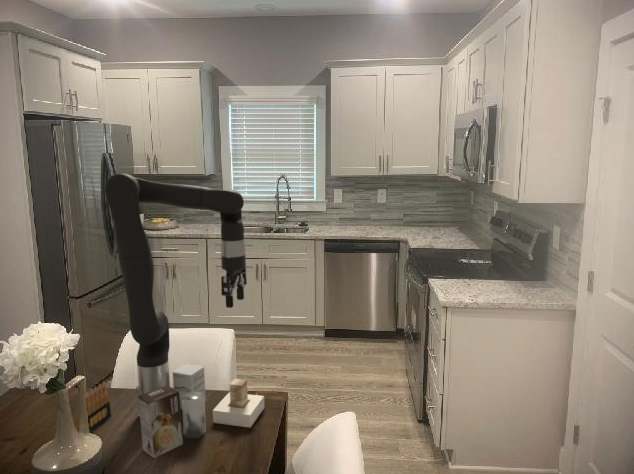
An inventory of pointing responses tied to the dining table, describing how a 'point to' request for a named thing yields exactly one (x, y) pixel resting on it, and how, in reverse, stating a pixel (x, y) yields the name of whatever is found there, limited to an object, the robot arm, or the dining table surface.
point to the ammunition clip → (97, 406)
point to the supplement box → (189, 380)
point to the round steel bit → (193, 415)
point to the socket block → (238, 411)
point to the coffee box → (160, 420)
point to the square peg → (238, 393)
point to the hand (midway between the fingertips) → (235, 303)
